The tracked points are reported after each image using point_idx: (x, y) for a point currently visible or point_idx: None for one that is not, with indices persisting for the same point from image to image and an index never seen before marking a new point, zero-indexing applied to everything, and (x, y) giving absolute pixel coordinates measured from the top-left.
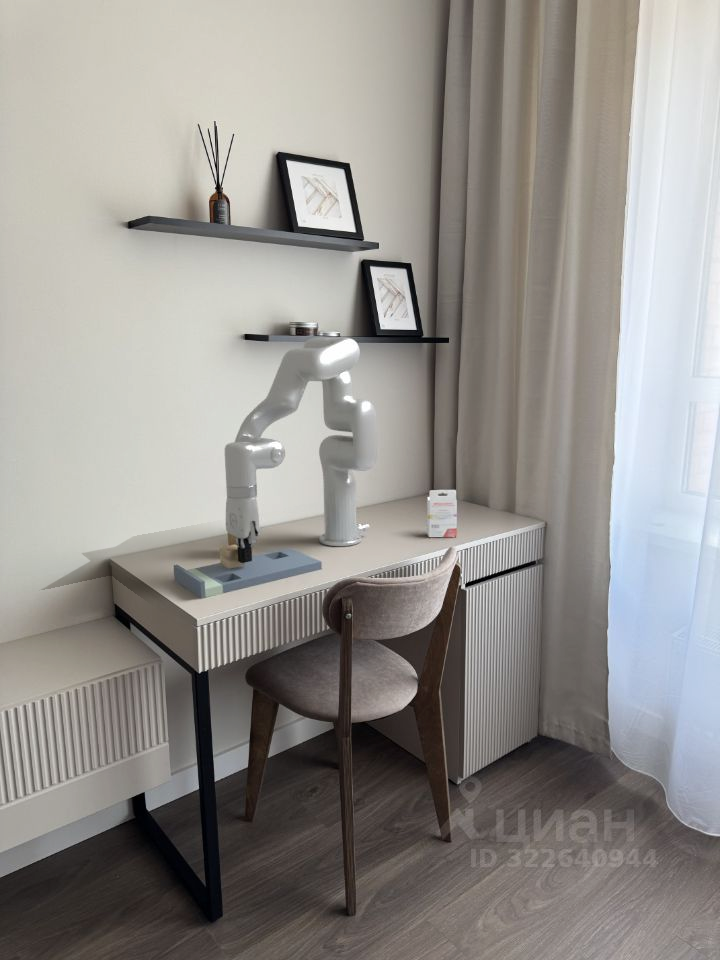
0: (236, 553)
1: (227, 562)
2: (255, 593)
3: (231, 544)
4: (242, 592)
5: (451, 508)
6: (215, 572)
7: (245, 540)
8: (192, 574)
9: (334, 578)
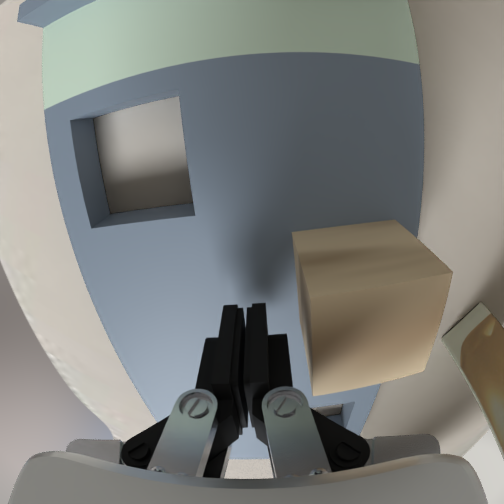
0: (307, 335)
1: (320, 244)
2: (30, 229)
3: (497, 342)
4: (48, 188)
5: None
6: (269, 125)
7: (135, 458)
8: None
9: (107, 421)
